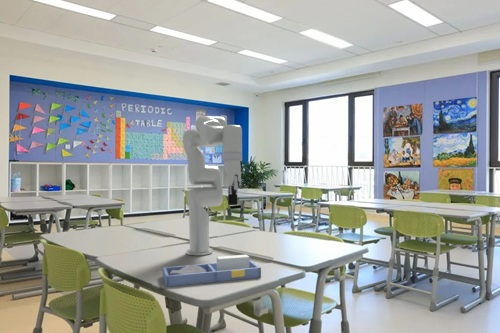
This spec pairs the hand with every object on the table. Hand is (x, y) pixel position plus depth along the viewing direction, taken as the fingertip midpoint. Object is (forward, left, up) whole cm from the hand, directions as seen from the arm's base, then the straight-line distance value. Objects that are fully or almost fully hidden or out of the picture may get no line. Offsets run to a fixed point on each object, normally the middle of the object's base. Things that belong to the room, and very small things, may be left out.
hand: (232, 204), depth 149 cm
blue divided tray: (0, -9, -27) cm, 28 cm away
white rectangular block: (0, 0, -27) cm, 27 cm away
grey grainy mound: (+1, -17, -27) cm, 32 cm away
